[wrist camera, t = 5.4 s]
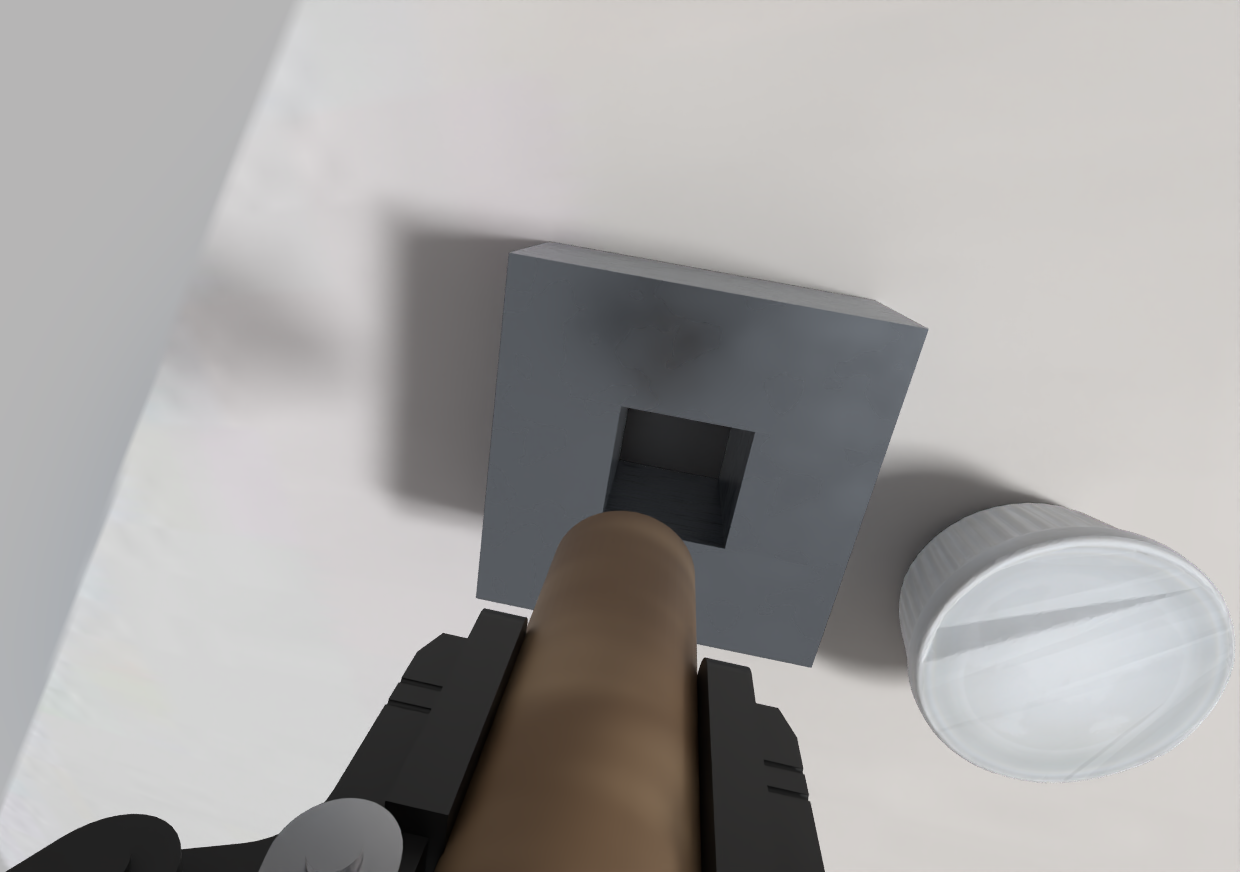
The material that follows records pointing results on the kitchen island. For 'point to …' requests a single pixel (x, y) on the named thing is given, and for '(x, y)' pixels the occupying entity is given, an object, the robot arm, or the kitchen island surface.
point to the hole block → (702, 391)
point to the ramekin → (1061, 643)
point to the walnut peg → (595, 717)
